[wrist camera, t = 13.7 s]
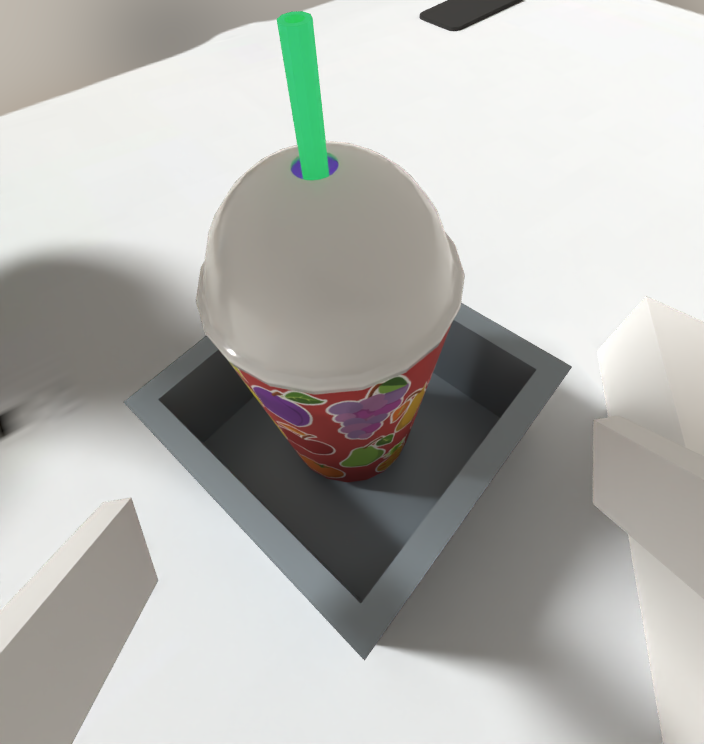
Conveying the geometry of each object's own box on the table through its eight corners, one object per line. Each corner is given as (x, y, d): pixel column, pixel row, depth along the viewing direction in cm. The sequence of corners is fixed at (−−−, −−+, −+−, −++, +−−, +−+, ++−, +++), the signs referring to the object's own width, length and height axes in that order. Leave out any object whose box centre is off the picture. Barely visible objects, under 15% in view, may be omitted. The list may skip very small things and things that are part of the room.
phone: (416, 14, 56) (487, -19, 61) (415, 21, 57) (485, -11, 61) (455, 29, 53) (527, -6, 57) (454, 36, 54) (525, 1, 58)
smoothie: (382, 355, 27) (397, -80, 10) (445, 465, 23) (656, 56, 6) (265, 403, 26) (43, -8, 8) (311, 528, 22) (69, 236, 4)
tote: (183, 450, 25) (123, 402, 19) (343, 304, 31) (336, 231, 25) (367, 643, 20) (364, 660, 14) (524, 423, 25) (572, 366, 19)
